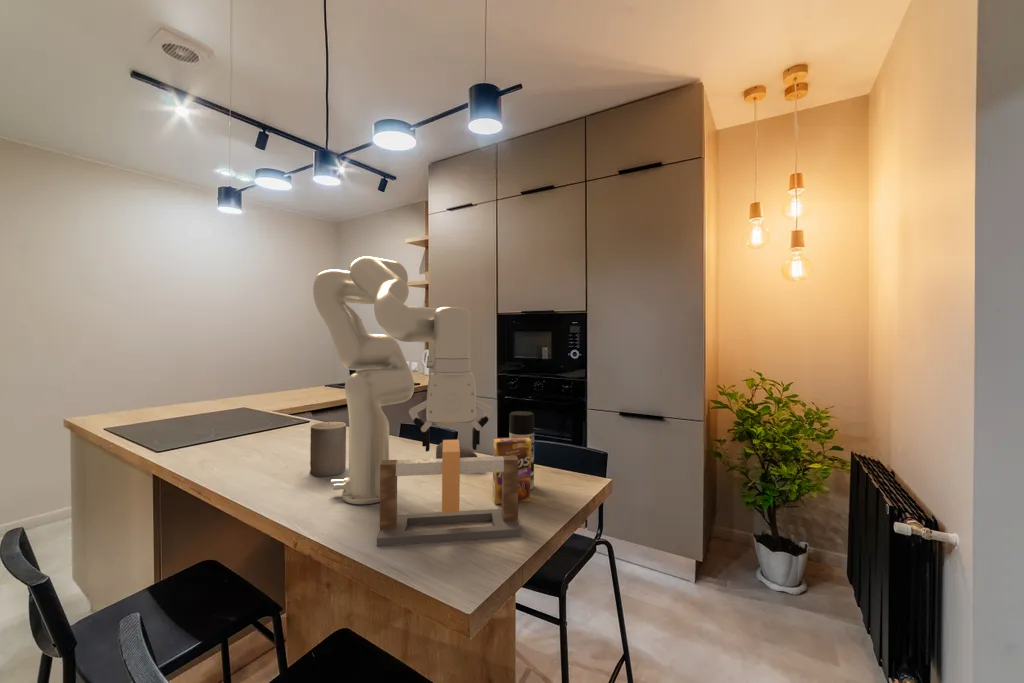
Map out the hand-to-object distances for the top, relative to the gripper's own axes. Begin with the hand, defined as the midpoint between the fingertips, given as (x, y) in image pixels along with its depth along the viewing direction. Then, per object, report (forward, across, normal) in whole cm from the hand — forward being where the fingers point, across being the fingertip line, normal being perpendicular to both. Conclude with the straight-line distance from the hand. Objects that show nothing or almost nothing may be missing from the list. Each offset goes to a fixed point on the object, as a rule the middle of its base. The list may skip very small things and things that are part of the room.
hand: (451, 448), depth 85 cm
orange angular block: (+11, 0, 0) cm, 11 cm away
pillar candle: (+17, -35, +41) cm, 57 cm away
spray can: (+17, +19, +21) cm, 33 cm away
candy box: (+17, +15, +13) cm, 26 cm away
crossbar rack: (+17, 0, 0) cm, 17 cm away
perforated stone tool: (+17, +3, +40) cm, 43 cm away
